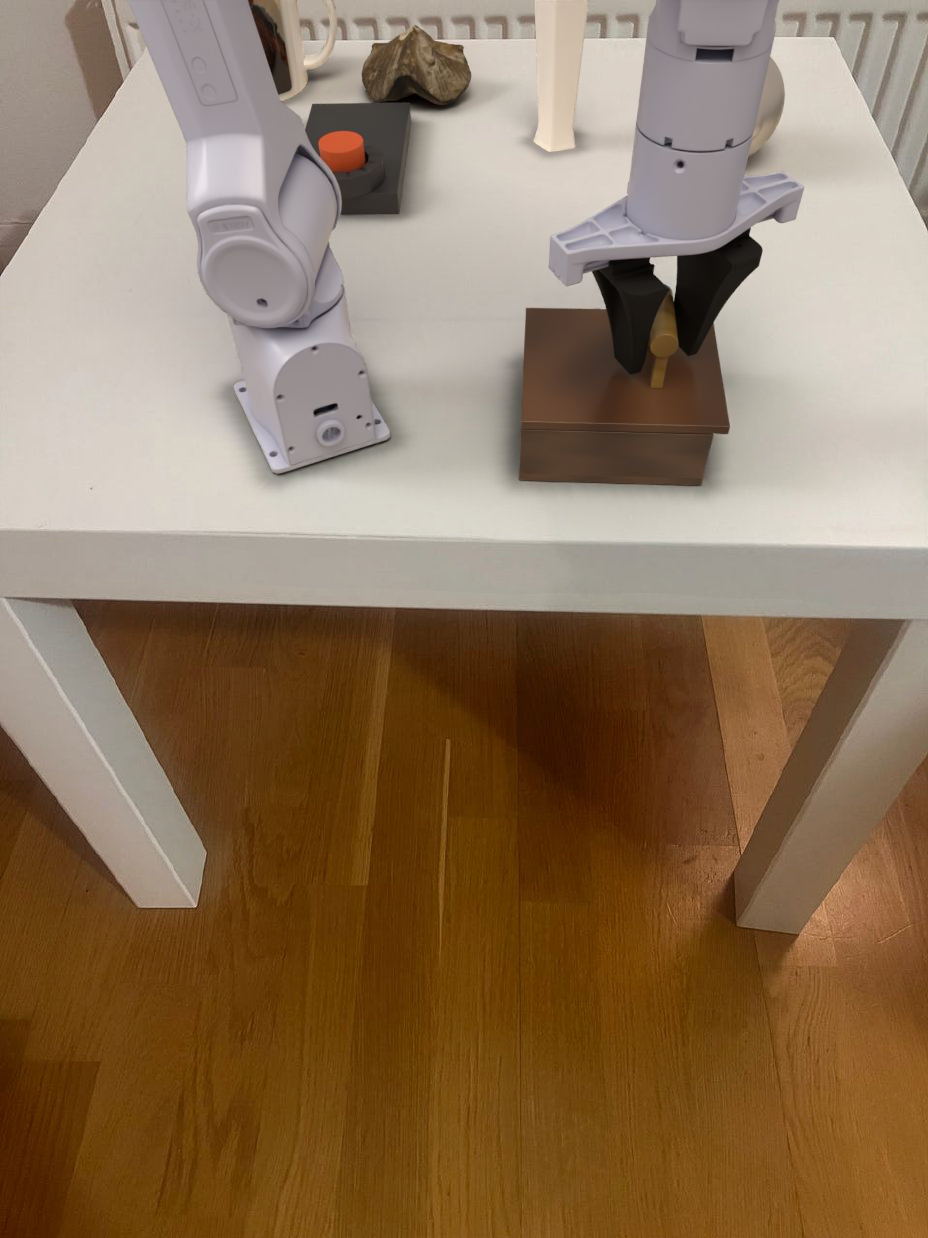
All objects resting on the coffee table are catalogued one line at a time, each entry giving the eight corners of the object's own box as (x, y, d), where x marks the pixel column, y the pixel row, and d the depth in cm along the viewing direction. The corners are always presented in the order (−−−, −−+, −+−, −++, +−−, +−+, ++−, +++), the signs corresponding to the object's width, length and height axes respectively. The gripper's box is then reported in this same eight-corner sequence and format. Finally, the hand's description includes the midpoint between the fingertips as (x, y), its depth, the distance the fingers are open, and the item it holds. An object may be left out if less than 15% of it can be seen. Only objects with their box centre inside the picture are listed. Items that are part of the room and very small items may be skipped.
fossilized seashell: (485, 57, 89) (395, 59, 93) (459, 3, 83) (364, 8, 87) (463, 130, 89) (374, 129, 93) (435, 81, 83) (341, 82, 87)
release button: (363, 173, 75) (361, 151, 74) (318, 174, 75) (315, 152, 74) (367, 151, 78) (365, 130, 76) (324, 152, 78) (321, 130, 76)
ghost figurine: (641, 156, 82) (657, 30, 74) (715, 122, 86) (738, -2, 78) (719, 197, 78) (745, 67, 70) (794, 159, 81) (826, 32, 73)
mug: (261, 52, 97) (238, -76, 88) (350, 79, 93) (335, -52, 84) (188, 90, 92) (156, -41, 83) (278, 121, 88) (255, -13, 79)
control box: (398, 219, 77) (395, 178, 74) (289, 220, 77) (282, 179, 74) (411, 123, 87) (408, 83, 84) (315, 124, 87) (309, 84, 85)
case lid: (710, 318, 61) (723, 254, 57) (728, 434, 54) (744, 370, 51) (525, 315, 62) (527, 252, 58) (520, 429, 55) (522, 366, 51)
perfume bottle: (592, 143, 84) (609, -54, 72) (553, 158, 82) (564, -40, 70) (561, 124, 86) (572, -70, 74) (522, 138, 85) (527, -58, 73)
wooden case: (687, 370, 64) (697, 318, 61) (701, 486, 57) (714, 435, 54) (523, 366, 65) (525, 315, 62) (519, 480, 58) (520, 430, 55)
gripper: (769, 62, 50) (720, 289, 61) (525, 122, 46) (519, 350, 57) (855, 118, 46) (786, 349, 57) (595, 187, 43) (574, 419, 53)
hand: (656, 354), depth 57 cm, fingers closed on case lid, 3 cm apart
